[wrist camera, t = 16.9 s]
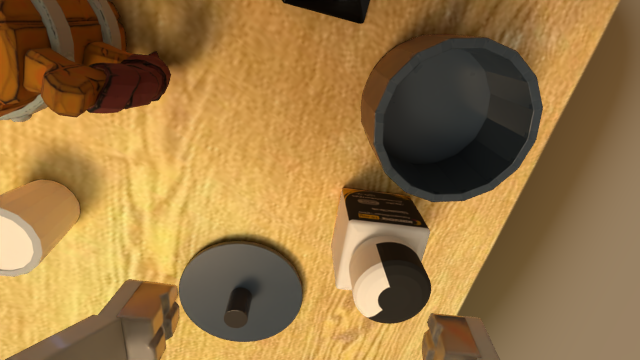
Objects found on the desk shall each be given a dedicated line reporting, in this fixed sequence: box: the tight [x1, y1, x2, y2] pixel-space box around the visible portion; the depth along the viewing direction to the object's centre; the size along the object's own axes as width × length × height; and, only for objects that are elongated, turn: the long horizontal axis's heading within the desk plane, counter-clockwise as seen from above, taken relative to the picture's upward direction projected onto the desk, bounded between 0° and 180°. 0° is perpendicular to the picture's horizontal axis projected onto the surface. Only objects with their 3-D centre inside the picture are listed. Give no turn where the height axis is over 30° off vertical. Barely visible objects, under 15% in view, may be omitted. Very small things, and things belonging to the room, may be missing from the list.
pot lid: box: [179, 241, 302, 342], centre depth 40 cm, size 13×13×5 cm
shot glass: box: [0, 179, 80, 276], centre depth 34 cm, size 7×7×7 cm
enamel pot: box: [361, 34, 543, 202], centre depth 31 cm, size 12×12×8 cm
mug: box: [0, 0, 171, 122], centre depth 25 cm, size 11×16×15 cm, turn 70°
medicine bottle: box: [331, 188, 431, 324], centre depth 34 cm, size 7×7×12 cm
